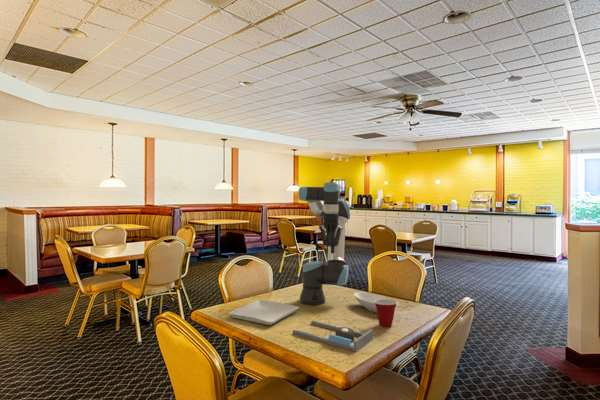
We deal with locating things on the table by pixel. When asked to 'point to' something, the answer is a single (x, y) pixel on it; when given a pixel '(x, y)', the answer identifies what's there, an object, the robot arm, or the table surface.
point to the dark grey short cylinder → (345, 333)
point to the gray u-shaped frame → (337, 340)
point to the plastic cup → (385, 311)
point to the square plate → (263, 311)
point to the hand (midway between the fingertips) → (330, 259)
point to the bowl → (369, 300)
